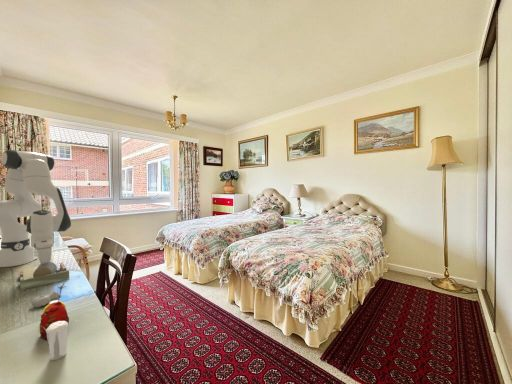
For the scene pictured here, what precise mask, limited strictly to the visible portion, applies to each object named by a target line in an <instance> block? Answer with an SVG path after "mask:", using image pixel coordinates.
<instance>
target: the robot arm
mask: <svg viewBox="0 0 512 384" xmlns="http://www.w3.org/2000/svg"><path fill="white" fill-rule="evenodd" d="M0 161H1V164H2V165H3V167H5V168H7V172H6V176H5V177H6V178H5V183H4V190H5V191H6V193H8V194H10V195H13V196H14V198H13V199H7V200H5V199H4V200H0V233H1V242H0V268H8V267H16V266H20V265H21V266H22V265H25V264H28V263H31V262H33V261H36V260H38V261H39V263H40V264H44V263H49V262H51V260H52V248H53V247H54V244H55V233H56V232H57V233H59V232H60V233H61V232H66V231H67V230H69V229H70V228H71V226H72V219H71V217H70V214H69V213H68V209H67V207H66V203H65V200H64V197H63V195H62V191H61V189H60V188H59V187H57V186H55V185H54V183H53V182H52V176H51V171H52V170H53V169H54V168H55V167H54V166H55V159H54V157H52V155H48V154H45V153H39V152H34V151H26V150H25V151H24V150H16V149H7V150H5V151H4V152H3V153H2V155H1V156H0ZM33 195H37V196H41V197H45V198H48V199H51V200H52V201H53V202H54V205H55V209H56V211H57V214H53V213H52V211H51V210H46V209H43V210H42V204H41V203H40V201H38V200H37V199H36V198H35V197H34V196H33ZM26 217H29V218H28V219H27V220H25V223H26V224H24V223H21V222H19V221H18V218H26ZM29 234H30V235H31V236H30V237H29ZM34 250H35V251H36V252H37V256H35V255H34V252H35V251H34ZM40 264H39V265H40Z"/></svg>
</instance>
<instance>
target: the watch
mask: <svg viewBox="0 0 512 384" xmlns="http://www.w3.org/2000/svg"><path fill="white" fill-rule="evenodd" d="M54 302H58V300H54V301H51V302H50V303H48V304H46V305H45V307H44V309H43V310H42V314H43V313H44V312H45V309H46V308H47V307H48V306H50V305H51V304H52V303H54ZM59 302H61V303H62V305H64V307H65V309H66V308H67V307H66V304H65V303H64V302H63V301H60V299H59ZM66 310H67V309H66Z"/></svg>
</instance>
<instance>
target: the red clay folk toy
mask: <svg viewBox="0 0 512 384" xmlns="http://www.w3.org/2000/svg"><path fill="white" fill-rule="evenodd" d="M57 288H58V289H59V293H58V294H59V295H58V296H59V299H58V302H54V303H52V304H51V305H50V306H48V307H47V308H46V309H45V312H44V313H43V312H42V314H40V323H39V334H40V337H41V338H43V339H45V340H47V334H46V330H45V329H47V328H48V327H49V326H50V325H51V324H52V323H55V322H57V321H66V322H68V326H69V324H70V317H69V316H68V312H67V311H68V310H67V309H65V307H66V306H65V307H64V305H62V303H61V302H62V301H60V302H59V300H60V298H62V295H61V294H62V290H63V288H66V285H65V282H63V283H62V285H60V287H59V286H58V287H57ZM43 327H44V328H45V329H44V328H43Z"/></svg>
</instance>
